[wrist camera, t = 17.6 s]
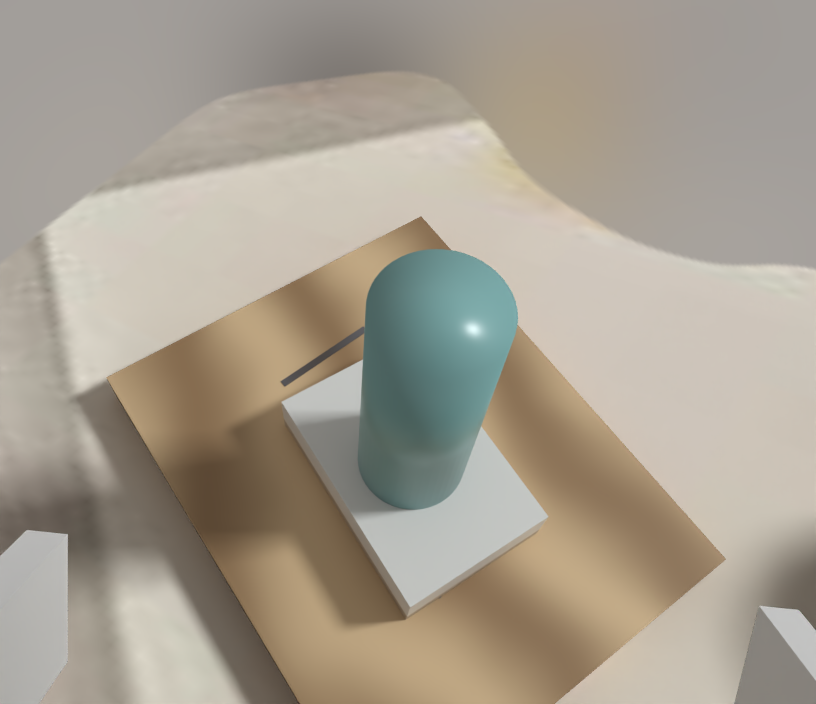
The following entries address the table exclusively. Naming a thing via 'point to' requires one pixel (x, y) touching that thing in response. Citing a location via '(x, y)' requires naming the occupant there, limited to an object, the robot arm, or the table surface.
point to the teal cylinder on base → (421, 428)
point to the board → (338, 548)
